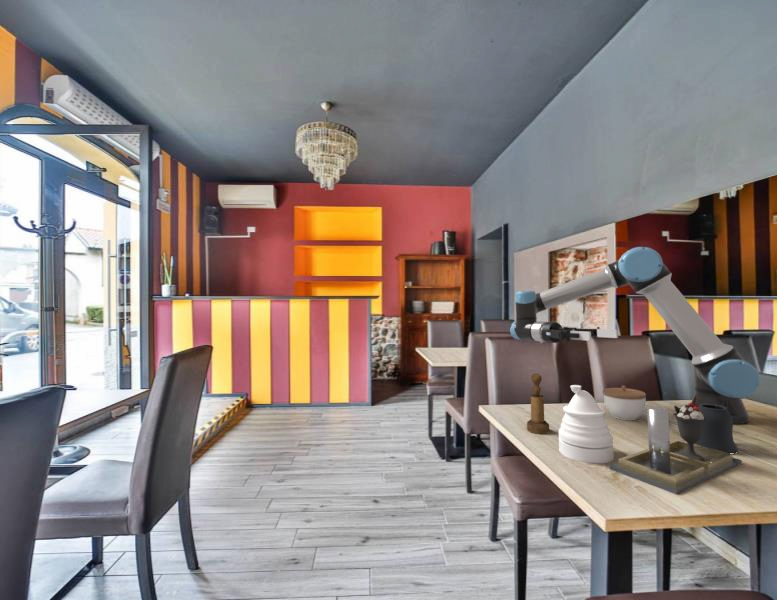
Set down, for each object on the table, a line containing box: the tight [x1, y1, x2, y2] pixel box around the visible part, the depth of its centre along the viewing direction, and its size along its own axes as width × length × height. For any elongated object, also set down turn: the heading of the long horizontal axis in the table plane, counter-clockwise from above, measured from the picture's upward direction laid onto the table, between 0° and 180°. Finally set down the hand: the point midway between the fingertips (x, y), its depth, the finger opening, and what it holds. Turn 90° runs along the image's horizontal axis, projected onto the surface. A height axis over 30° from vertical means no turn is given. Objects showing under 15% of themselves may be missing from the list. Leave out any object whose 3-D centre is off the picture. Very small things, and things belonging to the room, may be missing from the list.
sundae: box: [672, 398, 707, 461], centre depth 93 cm, size 7×7×15 cm
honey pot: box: [558, 384, 614, 464], centre depth 99 cm, size 13×13×18 cm
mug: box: [694, 404, 739, 453], centre depth 101 cm, size 12×9×11 cm
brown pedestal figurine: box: [526, 373, 550, 435], centre depth 118 cm, size 7×6×18 cm
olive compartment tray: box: [609, 406, 743, 495], centre depth 90 cm, size 30×14×15 cm, turn 117°
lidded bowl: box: [602, 385, 647, 421], centre depth 129 cm, size 13×13×11 cm
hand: (604, 335), depth 116 cm, fingers open, 13 cm apart
